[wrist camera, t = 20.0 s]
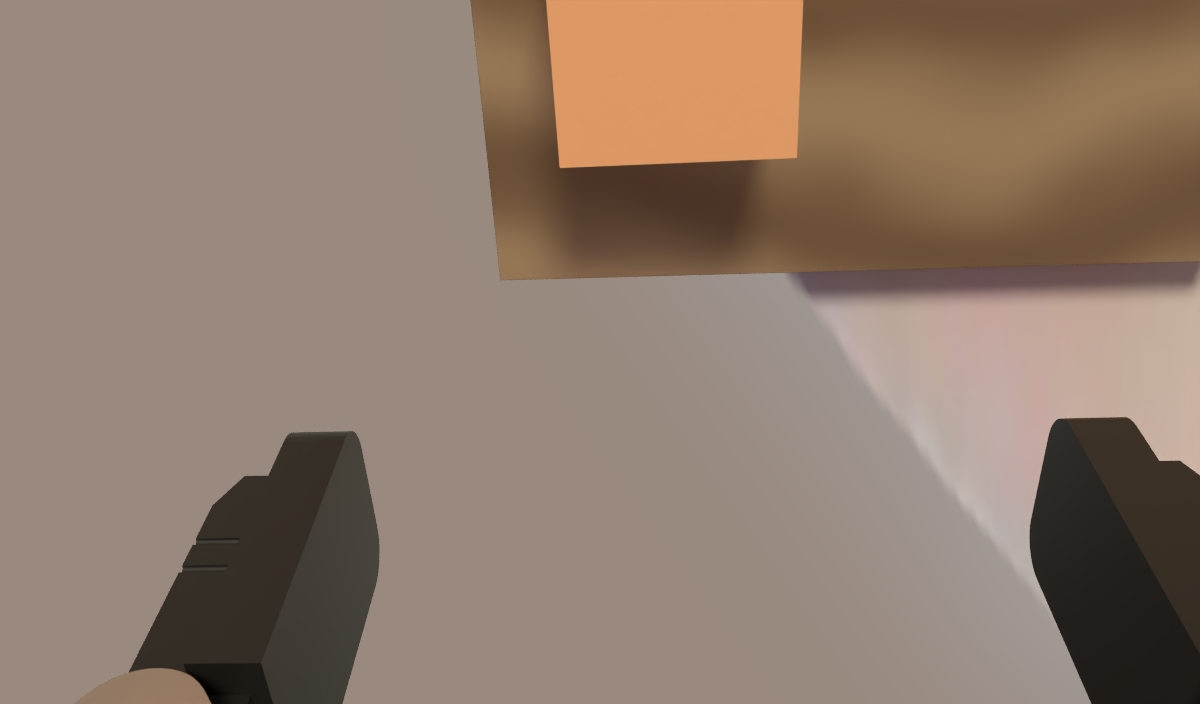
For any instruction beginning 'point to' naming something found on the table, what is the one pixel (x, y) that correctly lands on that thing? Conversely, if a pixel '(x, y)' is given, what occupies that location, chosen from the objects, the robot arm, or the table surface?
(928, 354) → the table surface
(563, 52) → the orange cube
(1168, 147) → the base plate
